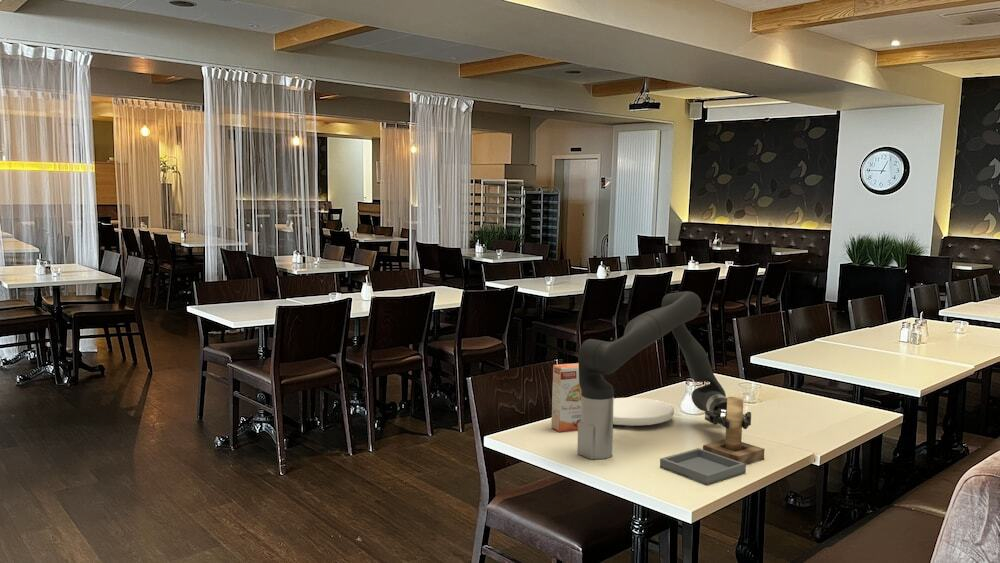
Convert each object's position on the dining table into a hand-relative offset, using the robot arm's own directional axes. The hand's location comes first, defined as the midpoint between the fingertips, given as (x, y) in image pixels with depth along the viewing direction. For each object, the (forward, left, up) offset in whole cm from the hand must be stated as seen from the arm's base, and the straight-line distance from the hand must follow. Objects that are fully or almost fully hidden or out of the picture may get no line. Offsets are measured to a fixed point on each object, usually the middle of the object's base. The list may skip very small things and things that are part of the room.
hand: (736, 425), depth 209 cm
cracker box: (-17, +49, -10) cm, 53 cm away
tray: (-14, 0, -10) cm, 17 cm away
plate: (+6, +46, -11) cm, 48 cm away
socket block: (+2, +2, -10) cm, 11 cm away
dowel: (+2, +2, -9) cm, 9 cm away
